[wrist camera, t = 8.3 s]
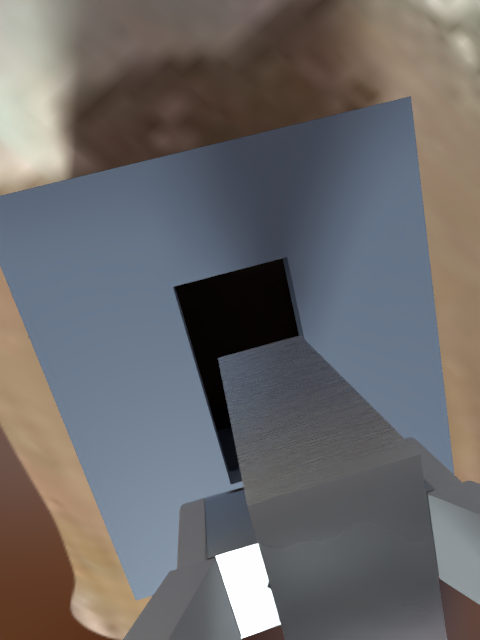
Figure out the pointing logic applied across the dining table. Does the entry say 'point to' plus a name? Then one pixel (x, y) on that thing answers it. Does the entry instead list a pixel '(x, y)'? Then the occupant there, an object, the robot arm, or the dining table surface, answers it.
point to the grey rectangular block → (331, 500)
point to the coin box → (211, 260)
